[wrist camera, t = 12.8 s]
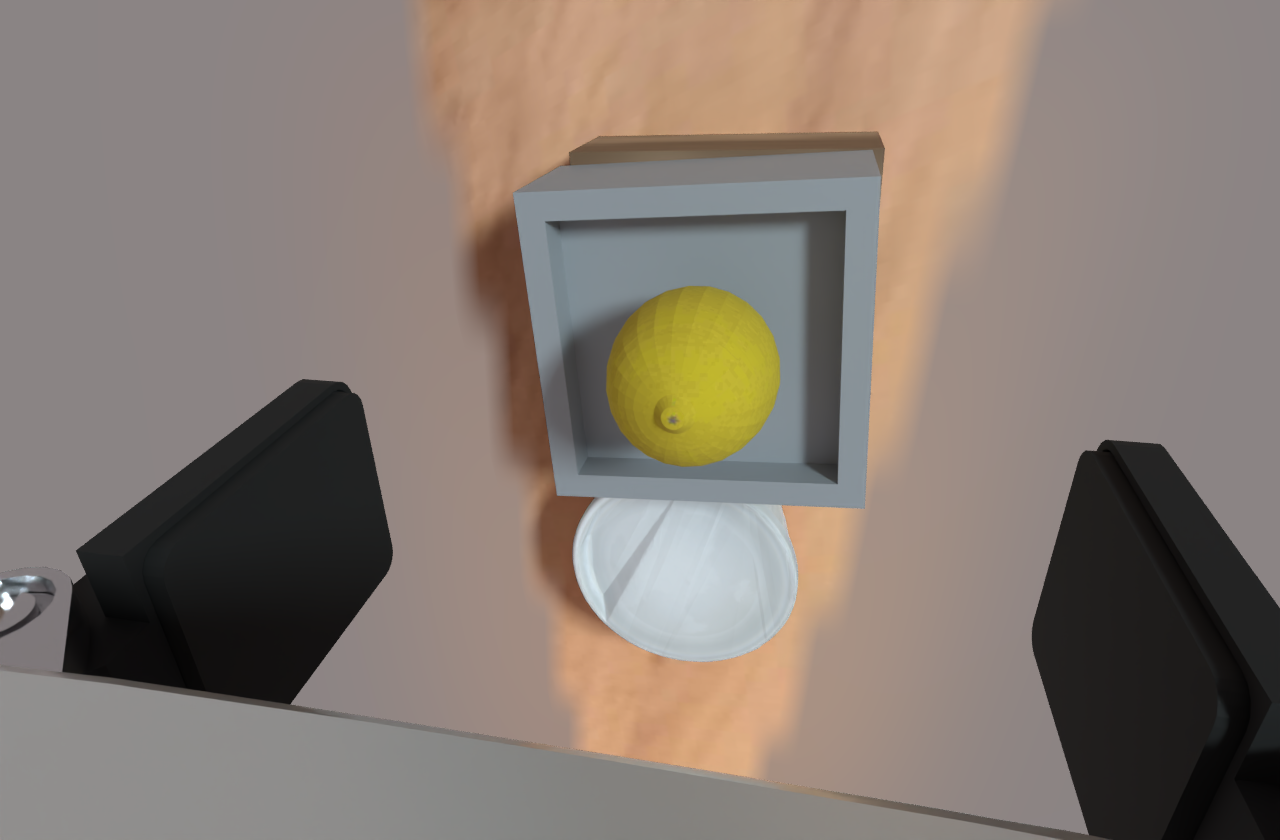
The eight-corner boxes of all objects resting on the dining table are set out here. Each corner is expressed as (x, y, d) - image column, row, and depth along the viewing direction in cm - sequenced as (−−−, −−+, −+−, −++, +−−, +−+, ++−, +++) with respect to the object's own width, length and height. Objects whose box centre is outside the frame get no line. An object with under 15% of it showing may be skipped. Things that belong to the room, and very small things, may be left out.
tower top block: (560, 165, 32) (512, 192, 27) (872, 149, 29) (880, 176, 25) (592, 433, 37) (557, 495, 33) (860, 439, 35) (864, 508, 30)
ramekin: (582, 428, 43) (552, 478, 38) (795, 422, 40) (791, 475, 36) (612, 596, 48) (589, 659, 43) (805, 601, 45) (802, 668, 40)
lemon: (633, 400, 31) (575, 494, 24) (640, 258, 29) (578, 313, 22) (777, 418, 30) (762, 520, 23) (794, 271, 28) (783, 334, 21)
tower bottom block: (600, 135, 36) (569, 152, 32) (877, 130, 34) (884, 148, 29) (615, 380, 41) (590, 423, 37) (855, 391, 39) (858, 439, 35)
